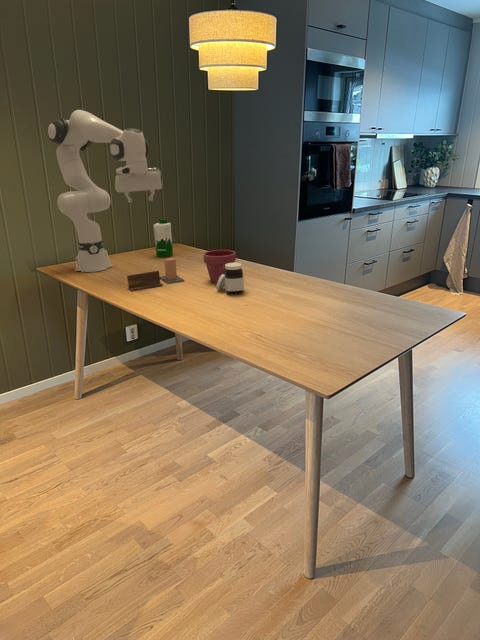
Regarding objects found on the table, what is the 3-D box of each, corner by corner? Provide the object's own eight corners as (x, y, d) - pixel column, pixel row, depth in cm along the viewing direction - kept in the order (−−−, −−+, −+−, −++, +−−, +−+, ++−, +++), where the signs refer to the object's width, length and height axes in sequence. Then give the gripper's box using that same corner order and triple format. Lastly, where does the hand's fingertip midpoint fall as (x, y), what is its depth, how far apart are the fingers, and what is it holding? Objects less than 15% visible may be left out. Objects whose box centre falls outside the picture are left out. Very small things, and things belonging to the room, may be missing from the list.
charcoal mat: (159, 278, 220) (158, 276, 220) (175, 275, 223) (175, 274, 223) (167, 284, 210) (167, 282, 210) (184, 281, 213) (184, 279, 213)
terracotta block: (165, 278, 217) (164, 258, 214) (174, 276, 219) (172, 257, 216) (168, 280, 214) (167, 260, 210) (177, 278, 215) (175, 259, 212)
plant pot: (226, 274, 221) (225, 247, 216) (242, 281, 210) (241, 252, 205) (199, 280, 214) (197, 252, 209) (215, 287, 202) (213, 257, 198)
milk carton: (174, 254, 267) (171, 218, 260) (169, 258, 258) (166, 221, 251) (159, 254, 268) (156, 218, 261) (154, 258, 260) (150, 221, 253)
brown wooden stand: (128, 288, 205) (126, 275, 203) (159, 283, 211) (157, 270, 209) (131, 291, 201) (129, 277, 199) (162, 286, 207) (161, 272, 205)
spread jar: (244, 295, 190) (243, 267, 186) (216, 296, 190) (215, 268, 186) (242, 286, 202) (241, 260, 198) (216, 288, 201) (214, 261, 197)
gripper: (157, 167, 210) (160, 199, 215) (112, 169, 202) (116, 202, 207) (162, 167, 205) (165, 200, 210) (115, 170, 196) (119, 204, 201)
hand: (140, 201), depth 208 cm, fingers open, 8 cm apart
